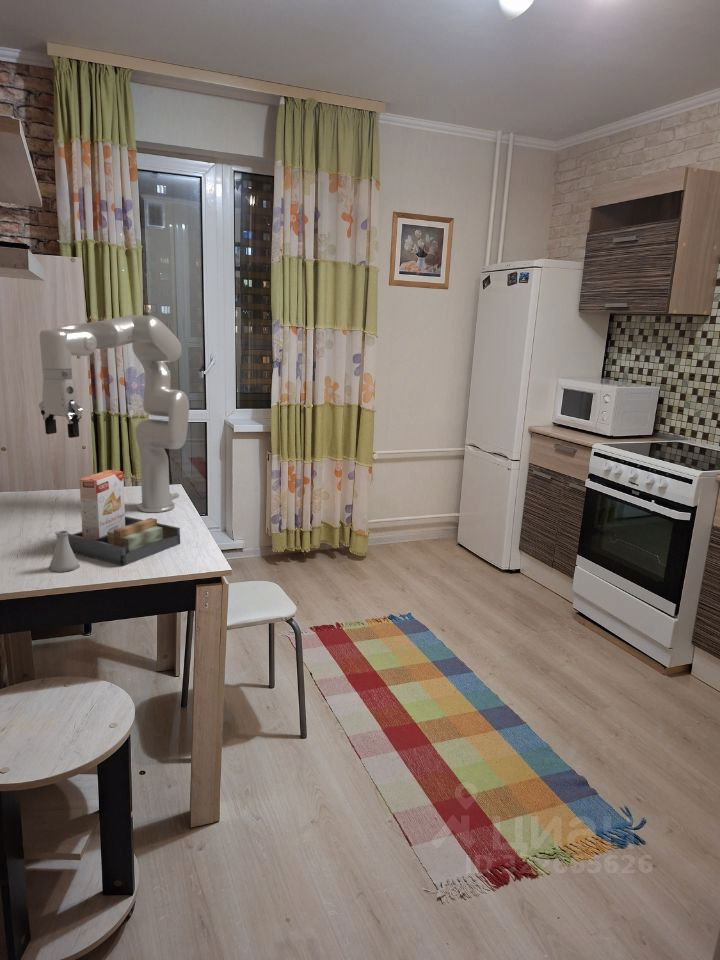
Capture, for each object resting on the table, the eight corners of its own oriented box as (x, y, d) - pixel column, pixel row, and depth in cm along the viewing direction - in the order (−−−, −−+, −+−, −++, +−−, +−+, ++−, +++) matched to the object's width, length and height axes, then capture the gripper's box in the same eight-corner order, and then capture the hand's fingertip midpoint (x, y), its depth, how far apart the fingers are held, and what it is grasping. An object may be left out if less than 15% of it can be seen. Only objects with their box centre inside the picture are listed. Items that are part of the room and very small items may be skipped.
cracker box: (101, 551, 187) (96, 480, 183) (82, 549, 189) (77, 478, 184) (127, 536, 201) (124, 470, 196) (109, 535, 202) (105, 468, 197)
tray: (117, 529, 207) (116, 514, 206) (180, 543, 196) (179, 527, 195) (57, 548, 188) (56, 532, 187) (123, 565, 177) (122, 548, 176)
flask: (60, 574, 169) (57, 538, 167) (43, 568, 173) (41, 532, 171) (85, 566, 175) (82, 531, 173) (68, 561, 179) (65, 526, 177)
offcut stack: (145, 542, 197) (144, 516, 195) (164, 546, 193) (163, 520, 192) (108, 555, 185) (107, 528, 183) (128, 560, 181) (126, 532, 180)
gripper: (89, 376, 182) (94, 436, 186) (49, 372, 190) (54, 430, 194) (66, 377, 176) (71, 440, 180) (25, 373, 184) (31, 434, 188)
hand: (62, 435), depth 187 cm, fingers open, 9 cm apart
